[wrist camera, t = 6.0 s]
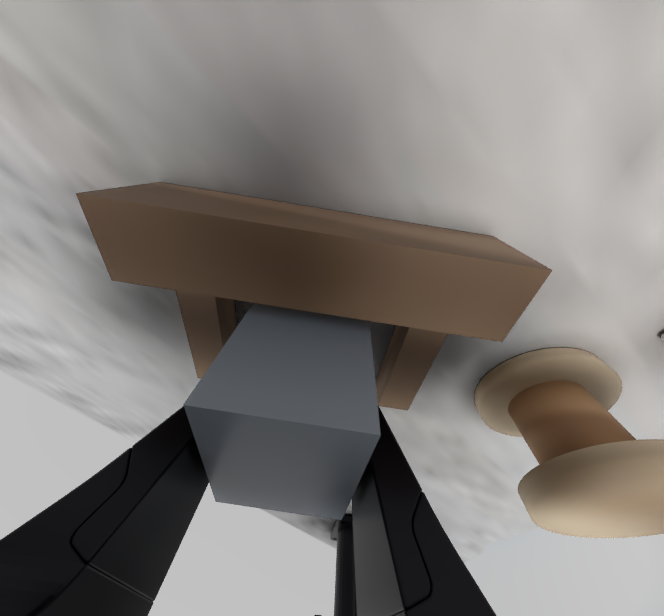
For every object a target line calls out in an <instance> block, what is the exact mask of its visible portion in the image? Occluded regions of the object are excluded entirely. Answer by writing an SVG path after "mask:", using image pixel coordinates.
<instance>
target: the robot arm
mask: <svg viewBox="0 0 664 616" xmlns="http://www.w3.org/2000/svg"><path fill="white" fill-rule="evenodd" d="M378 413H379V423H380V433H381V436H380V438H379V440H378V442H377V444H376V446H375V449H374V451H373V453H372V455H371V457H370V459H369V462H368V464H367V466H366V468H365V470H364V473H363V475H362V477H361V479H360V481H359V483H358V486H357V488H356V490H355V492H354V494H353V496H352V516H353V517H351V516H343V518H342V520H337V521H336V523H335V525H334V528H333V530H332V532H331V540H335V541H337V558H336V559H337V560H336V582H335V583H336V584H335V607H334V616H496V614H495V613H494V611H493V610H492V608H491V606H490V605H489V603H488V602H487V600H486V598H485V597H484V595H483V593H482V592H481V590H480V589H479V587H478V585H477V584H476V582H475V580H474V579H473V577H472V576H471V574H470V572H469V571H468V569H467V568H466V566H465V564H464V563H463V561H462V560H461V558H460V556H459V555H458V553H457V551H456V550H455V548H454V546H453V545H452V543H451V541H450V540H449V538H448V536H447V535H446V533H445V531H444V530H443V528H442V526H441V524H440V522H439V521H438V519H437V517H436V515H435V513H434V511H433V510H432V508H431V506H430V504H429V502H428V500H427V498H426V496H425V494H424V493H423V492H421V491H422V489H421V487H420V485H419V483H418V481H417V479H416V477H415V475H414V473H413V471H412V469H411V468H410V466H409V464H408V462H407V460H406V458H405V456H404V454H403V452H402V450H401V448H400V446H399V444H398V443H397V441H396V439H395V437H394V435H393V433H392V431H391V429H390V427H389V425H388V423H387V421H386V420H385V418H384V416H383V414H382V412H381V410H380V408H379V406H378ZM208 483H209V480H208V477H207V474H206V471H205V468H204V465H203V462H202V459H201V456H200V453H199V450H198V447H197V444H196V441H195V438H194V435H193V432H192V429H191V426H190V423H189V420H188V417H187V414H186V411H185V408H184V406H183V407H182V408H181V409H179V410H178V411H177V412H176V413H174V414H173V415H172V416H170V417H169V418H168V419H167V420H165V421H164V422H163V423H161V424H160V425H159V426H158V427H156V428H155V429H154V430H152V431H151V432H150V433H149V434H147V435H146V436H145V437H143V438H142V439H141V440H140V441H138V442H137V443H136V444H135V445H133V447H132V448H129V449H128V450H127V451H125V452H124V453H123V454H121V455H120V456H119V457H118V458H116V459H115V460H114V461H112V462H111V463H110V464H108V465H107V466H106V467H104V468H103V469H102V470H100V471H99V472H98V473H97V474H95V475H94V476H92V477H91V478H90V479H88V480H87V481H86V482H84V483H83V484H81V485H80V486H78V487H77V488H75V489H74V490H73V491H71V492H70V493H69V494H67V495H66V496H64V497H63V498H61V499H60V500H58V501H57V502H55V503H54V504H52V505H51V506H50V507H48V508H47V509H45V510H44V511H42V512H41V513H39V514H38V515H36V516H35V517H33V518H32V519H31V520H29V521H28V522H26V523H25V524H23V525H22V526H21V527H19V528H17V529H16V530H14V531H13V532H11V533H10V534H9V535H7V536H6V537H4V538H3V539H1V540H0V616H148V613H149V611H150V609H151V606H152V605H153V601H154V600H155V598H156V595H157V594H158V591H159V589H160V587H161V585H162V583H163V581H164V578H165V576H166V574H167V572H168V570H169V568H170V565H171V563H172V561H173V559H174V557H175V554H176V552H177V550H178V548H179V546H180V544H181V541H182V539H183V537H184V535H185V533H186V531H187V529H188V526H189V524H190V522H191V520H192V518H193V516H194V513H195V511H196V509H197V507H198V505H199V503H200V500H201V498H202V496H203V494H204V492H205V489H206V487H207V485H208ZM315 616H321V615H315Z"/></svg>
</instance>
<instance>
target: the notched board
mask: <svg viewBox="0 0 664 616" xmlns="http://www.w3.org/2000/svg"><path fill="white" fill-rule="evenodd" d="M76 195H77V197H78V200H79V202H80V205H81V207H82V210H83V212H84V214H85V217H86V219H87V222H88V224H89V227H90V229H91V231H92V234H93V236H94V239H95V241H96V243H97V246H98V248H99V251H100V253H101V256H102V258H103V260H104V263H105V265H106V268H107V270H108V273H109V275H110V277H111V280H113V281H119V282H126V283H132V284H138V285H145V286H151V287H157V288H164V289H170V290H176V294H177V298H178V302H179V306H180V310H181V314H182V318H183V322H184V326H185V330H186V333H187V337H188V341H189V345H190V349H191V353H192V357H193V361H194V365H195V369H196V373H197V376H198V378H201V379H202V377H203V376H204V374H205V373H206V371H207V370H208V368H209V367H210V365H211V364H212V363H213V361H214V360H215V358H216V357H217V355H218V354H219V352H220V351H221V349H222V348H223V346H224V345H225V344H226V342H227V341H228V339H229V338H230V336H231V335H232V333H233V332H234V330H235V329H236V327H237V324H236V314H235V304H234V300H240V301H246V302H252V303H259V304H265V305H271V306H278V307H284V308H290V309H297V310H303V311H309V312H316V313H322V314H328V315H335V316H341V317H347V318H354V319H360V320H366V321H373V322H379V323H385V324H392V325H396V326H395V329H394V332H393V335H392V338H391V340H390V343H389V346H388V349H387V352H386V354H385V357H384V360H383V363H382V365H381V368H380V371H379V374H378V377H377V379H376V390H377V400H378V406H383V407H390V408H396V409H403V410H408V409H409V407H410V405H411V403H412V401H413V399H414V398H415V396H416V394H417V392H418V390H419V388H420V386H421V384H422V382H423V380H424V378H425V377H426V375H427V373H428V371H429V369H430V367H431V365H432V363H433V361H434V359H435V357H436V356H437V354H438V352H439V350H440V348H441V346H442V344H443V342H444V340H445V338H446V336H447V334H448V333H449V334H455V335H462V336H468V337H474V338H481V339H487V340H493V341H500V342H502V341H503V340H504V338H505V337H506V336H507V334H508V333H509V331H510V330H511V329H512V327H513V326H514V324H515V323H516V321H517V320H518V319H519V317H520V316H521V314H522V313H523V311H524V310H525V309H526V307H527V306H528V304H529V303H530V301H531V300H532V299H533V297H534V296H535V294H536V293H537V292H538V290H539V289H540V287H541V286H542V284H543V283H544V282H545V280H546V279H547V277H548V276H549V274H550V273H551V272H552V270H551V269H549V268H547V267H546V266H544V265H542V264H540V263H539V262H537V261H535V260H533V259H532V258H530V257H528V256H527V255H525V254H523V253H521V252H520V251H518V250H516V249H514V248H513V247H511V246H509V245H507V244H506V243H504V242H502V241H500V240H499V239H497V238H495V237H493V236H488V235H482V234H475V233H469V232H463V231H457V230H451V229H445V228H439V227H432V226H426V225H420V224H414V223H408V222H402V221H396V220H389V219H383V218H377V217H371V216H365V215H359V214H353V213H346V212H340V211H334V210H328V209H322V208H316V207H310V206H303V205H297V204H291V203H285V202H279V201H273V200H266V199H260V198H254V197H248V196H242V195H236V194H230V193H223V192H217V191H211V190H205V189H199V188H193V187H187V186H180V185H174V184H168V183H162V182H156V183H149V184H142V185H134V186H127V187H119V188H112V189H105V190H97V191H90V192H82V193H76Z"/></svg>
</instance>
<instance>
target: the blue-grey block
mask: <svg viewBox="0 0 664 616" xmlns="http://www.w3.org/2000/svg"><path fill="white" fill-rule="evenodd" d="M184 408H185V411H186V414H187V417H188V420H189V423H190V426H191V429H192V432H193V435H194V438H195V441H196V444H197V447H198V450H199V453H200V456H201V459H202V462H203V465H204V468H205V471H206V474H207V477H208V480H209V483H210V486H211V489H212V492H213V495H214V498H215V501H216V502H222V503H229V504H235V505H242V506H249V507H256V508H262V509H269V510H276V511H282V512H289V513H296V514H303V515H309V516H316V517H323V518H329V519H336V520H342V518H343V516H344V514H345V512H346V509H347V507H348V505H349V503H350V501H351V499H352V496H353V494H354V492H355V490H356V488H357V486H358V483H359V481H360V479H361V477H362V475H363V473H364V470H365V468H366V466H367V464H368V462H369V459H370V457H371V455H372V453H373V451H374V449H375V446H376V444H377V442H378V440H379V438H380V436H381V433H380V423H379V413H378V402H377V392H376V382H375V372H374V361H373V351H372V341H371V330H370V321H366V320H360V319H354V318H347V317H341V316H335V315H328V314H322V313H316V312H309V311H303V310H297V309H290V308H284V307H278V306H271V305H265V304H259V303H253V304H252V306H251V307H250V308H249V310H248V311H247V313H246V314H245V316H244V317H243V319H242V320H241V322H240V323H239V325H238V326H237V327H236V329H235V330H234V332H233V333H232V335H231V336H230V338H229V339H228V341H227V342H226V344H225V345H224V346H223V348H222V349H221V351H220V352H219V354H218V355H217V357H216V358H215V360H214V361H213V363H212V364H211V365H210V367H209V368H208V370H207V371H206V373H205V374H204V376H203V377H202V379H201V380H200V382H199V383H198V384H197V386H196V387H195V389H194V390H193V392H192V393H191V395H190V396H189V398H188V399H187V401H186V402H185V403H184Z"/></svg>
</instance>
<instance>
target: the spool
mask: <svg viewBox="0 0 664 616" xmlns="http://www.w3.org/2000/svg"><path fill="white" fill-rule="evenodd" d="M621 391H622V381H621V379H620V377H619V375H618V374H617V373H616V372H615V371H614V370H613V369H611V368H610V367H609V366H608V365H607V364H605V363H604V362H603V361H602V360H600V359H599V358H598V357H597V356H595V355H594V354H592V353H590V352H587V351H584V350H580V349H575V348H547V349H540V350H535V351H531V352H528V353H524V354H521V355H518V356H516V357H514V358H511V359H509V360H507V361H505V362H503V363H501V364H500V365H498V366H497V367H495V368H494V369H492V370H491V371H490V372H488V373H487V374H486V375H485V376H484V377H483V379H482V380H481V381H480V382H479V384H478V385H477V387H476V390H475V393H474V402H475V405H476V407H477V409H478V411H479V413H480V416H481V418H482V419H483V421H484V423H485V424H486V425H487V426H488V427H490V428H491V429H493V430H495V431H497V432H499V433H502V434H505V435H510V436H517V437H523V438H524V439H525V441H526V443H527V444H528V446H529V448H530V449H531V451H532V453H533V454H534V456H535V458H536V459H537V461H538V463H539V464H540V465H538V466H537V467H535V468H534V469H532V470H531V471H529V472H528V473H527V474H526V475H525V476H524V477H523V478H522V480H521V481H520V483H519V485H518V493H519V495H520V497H521V499H522V501H523V503H524V505H525V507H526V509H527V512H528V514H529V516H530V518H531V519H532V521H533V522H534V523H535V524H536V525H537V526H539V527H541V528H543V529H545V530H548V531H551V532H554V533H558V534H562V535H568V536H575V537H586V538H627V537H639V536H649V535H657V534H663V533H664V440H658V439H650V440H636V439H635V438H634V437H633V436H632V435H631V434H630V433H629V432H628V431H627V430H626V429H625V428H624V427H623V426H622V425H621V424H620V423H619V422H618V421H617V420H616V419H615V418H614V417H613V416H612V415H611V414H610V413H609V412H608V410H609V409H610V408H611V407H612V406H613V405H614V404H615V403H616V401H617V400H618V398H619V396H620V394H621Z"/></svg>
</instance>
